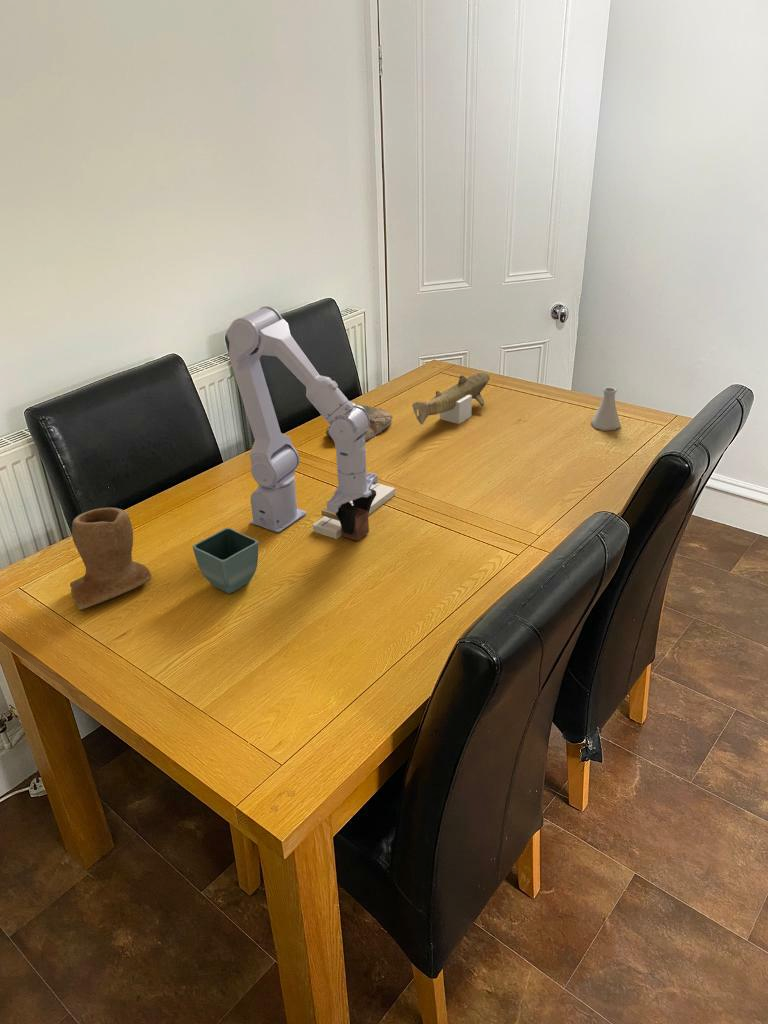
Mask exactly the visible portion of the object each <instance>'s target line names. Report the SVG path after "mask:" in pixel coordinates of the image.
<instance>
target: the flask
mask: <svg viewBox="0 0 768 1024" xmlns="http://www.w3.org/2000/svg"><path fill="white" fill-rule="evenodd" d="M602 391H603V397H602V400H601V402H600V405H599V407H598V408H597V410H596V412H595V414H594V415H593V418H592V419H591V421H590V424H591V426H592V427H593V428H595V429H597V430H599V431H600V430H601V431H603V432H605V431H615V430H618V429H619V428H621V422H620V418H619V415H618V411H617V408H616V407H617V406H616V393H617V392H618V390H617V389H616V388H615V387H611V386H608V387H604V388H603V389H602Z"/></svg>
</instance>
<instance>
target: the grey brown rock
mask: <svg viewBox="0 0 768 1024" xmlns="http://www.w3.org/2000/svg"><path fill="white" fill-rule="evenodd" d="M358 405H359V406H361V407H363V408H364V409H365V411H366V412H367V414H368V416H369V419H370V426H369V428H368V429H367V430H366V432H365V433H363V434H365V442H366V441H369V440H371V439H373V438H375V437H376V436H377V435H379V434H380V433H382V432H383V431H384V430H386V429H387V428H388V427H389V426H390V425H391V424H392V422H393V421H392V420H393V418H394V416H393V414H390V413H388V412H387V410H385V409H384V408H380V407H374V406H369V405H366V404H364V405H363V404H358ZM330 427H331V426H330V425H329V426H328V427H327V429H326V430H325V434H326V436H327V437H330V438H332V437H331V436H330V434H329V430H328V428H330Z"/></svg>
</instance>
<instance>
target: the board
mask: <svg viewBox="0 0 768 1024" xmlns="http://www.w3.org/2000/svg"><path fill="white" fill-rule="evenodd" d="M370 489H372V490H375V491H376V496H375V498H374V500H373V502H372V504H371V507H370V510H369V514H368V516H369V515H371V514H372V513H373V512H375V510H377V509H378V508H380V507H381V506H382V505H384V504H385V503H386V502H387V501H389V500H390V499H392V498H393V497H394V496H396V488H395V487H393V486H388V485H385V484H382V483H379V482H378V483H377V484H375V485H373V484H372V486H371V488H370ZM350 503H351V505H353V501H350ZM353 506H354V505H353ZM312 531H313V532H314V533H318V534H320V535H323V536H325V537H329V538H332V539H335V540H338V539H339V538H340V537H343V536H342V534H341V524H340V521H338V520H335V519H332V518H328V517H326V516H323V517H321V518H320V519H319V520H317V521H315V522H314V523H313V524H312Z"/></svg>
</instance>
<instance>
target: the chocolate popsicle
mask: <svg viewBox="0 0 768 1024" xmlns="http://www.w3.org/2000/svg"><path fill="white" fill-rule="evenodd" d="M320 512H321V516H323V517H324V516H326V517H328V518H332V519H335V520H338V521H339V519H338V517H337V515H336V514H335V513H333V512H330V511H328V510H327V507H324V508H322V509H321V511H320ZM369 525H370V524H369V515H368V511H367V510H363V509H360V508H358V509H357V512H356V515H355V521H354V532H353V534H352V535H350V534H347V533H344V532H343V529H342V526H341V534H342V536H341V537H345V538H348V539H351V540H354V541H357V542H358V541H360V540H361V539H362V538H363V537H365V536H366V535H368V534H369V533H370V531H369V530H370V527H369Z"/></svg>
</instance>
